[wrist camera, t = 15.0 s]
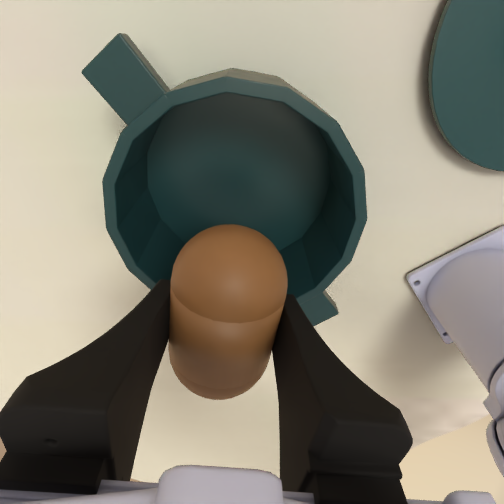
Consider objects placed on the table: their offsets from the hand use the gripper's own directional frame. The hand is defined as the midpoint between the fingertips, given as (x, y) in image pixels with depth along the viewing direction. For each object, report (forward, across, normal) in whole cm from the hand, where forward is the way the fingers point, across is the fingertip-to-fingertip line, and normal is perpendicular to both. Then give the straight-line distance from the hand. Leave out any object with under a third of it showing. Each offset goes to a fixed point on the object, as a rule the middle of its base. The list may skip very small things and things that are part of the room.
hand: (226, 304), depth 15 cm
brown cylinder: (+2, 0, 0) cm, 2 cm away
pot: (+10, 0, -2) cm, 11 cm away
